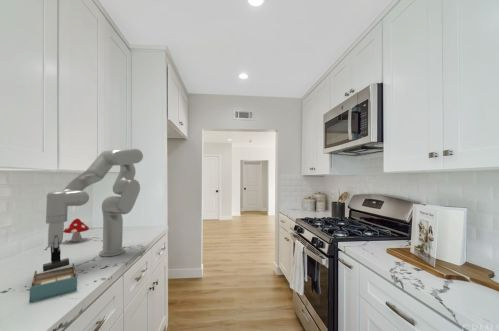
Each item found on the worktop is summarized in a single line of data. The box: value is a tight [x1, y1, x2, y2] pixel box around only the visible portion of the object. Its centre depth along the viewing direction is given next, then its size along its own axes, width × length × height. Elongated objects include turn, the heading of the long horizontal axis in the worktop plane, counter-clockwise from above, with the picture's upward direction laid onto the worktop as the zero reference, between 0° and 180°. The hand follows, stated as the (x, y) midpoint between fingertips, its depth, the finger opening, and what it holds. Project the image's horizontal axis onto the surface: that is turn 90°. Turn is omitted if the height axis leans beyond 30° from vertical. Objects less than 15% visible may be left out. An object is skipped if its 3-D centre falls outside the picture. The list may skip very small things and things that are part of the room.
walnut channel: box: [31, 263, 77, 287], centre depth 95 cm, size 14×13×4 cm
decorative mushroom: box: [63, 218, 90, 243], centre depth 153 cm, size 14×14×15 cm
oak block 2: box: [57, 274, 71, 281], centre depth 88 cm, size 4×4×4 cm
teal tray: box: [29, 276, 78, 303], centre depth 86 cm, size 8×13×5 cm, turn 130°
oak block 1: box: [41, 278, 55, 285], centre depth 85 cm, size 4×4×4 cm
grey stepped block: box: [42, 245, 70, 273], centre depth 105 cm, size 3×9×10 cm, turn 130°
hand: (55, 259), depth 105 cm, fingers closed on grey stepped block, 3 cm apart
